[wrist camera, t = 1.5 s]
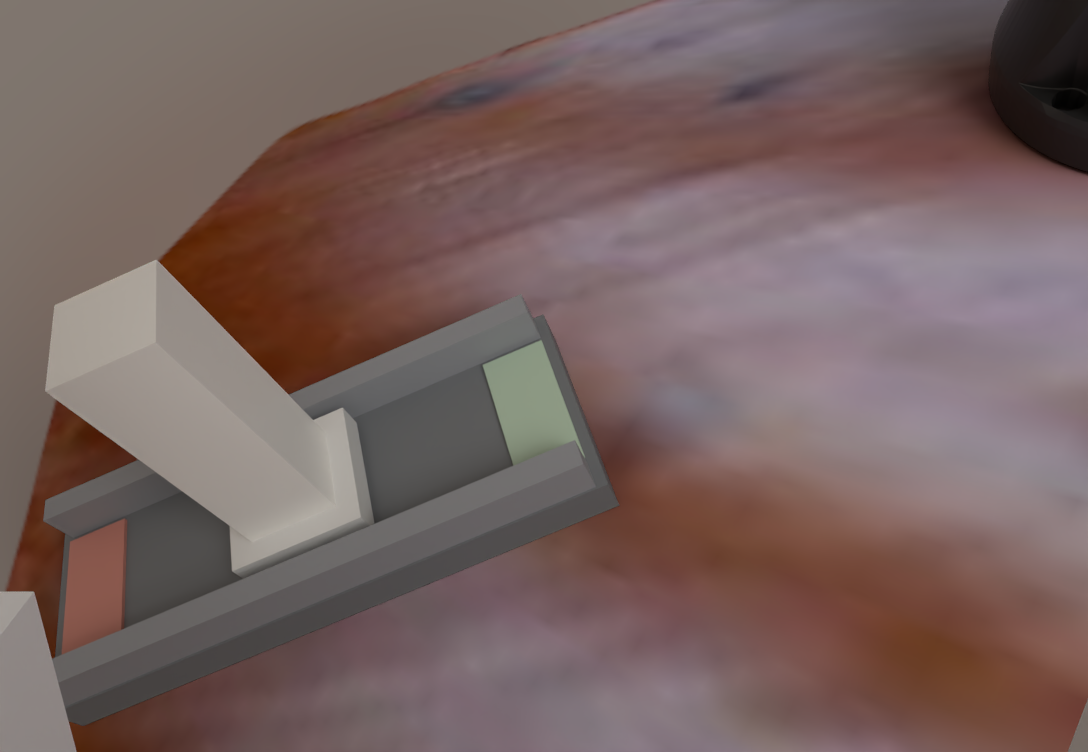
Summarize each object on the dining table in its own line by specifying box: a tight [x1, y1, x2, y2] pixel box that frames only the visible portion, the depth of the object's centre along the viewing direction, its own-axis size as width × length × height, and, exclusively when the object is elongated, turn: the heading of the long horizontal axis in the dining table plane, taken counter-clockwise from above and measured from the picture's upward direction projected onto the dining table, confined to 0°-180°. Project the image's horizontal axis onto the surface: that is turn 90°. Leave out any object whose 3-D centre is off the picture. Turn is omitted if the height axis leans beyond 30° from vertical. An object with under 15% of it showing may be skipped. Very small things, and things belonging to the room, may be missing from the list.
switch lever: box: [45, 260, 374, 579], centre depth 35 cm, size 6×6×13 cm
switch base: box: [43, 294, 619, 726], centre depth 40 cm, size 26×10×4 cm, turn 106°
